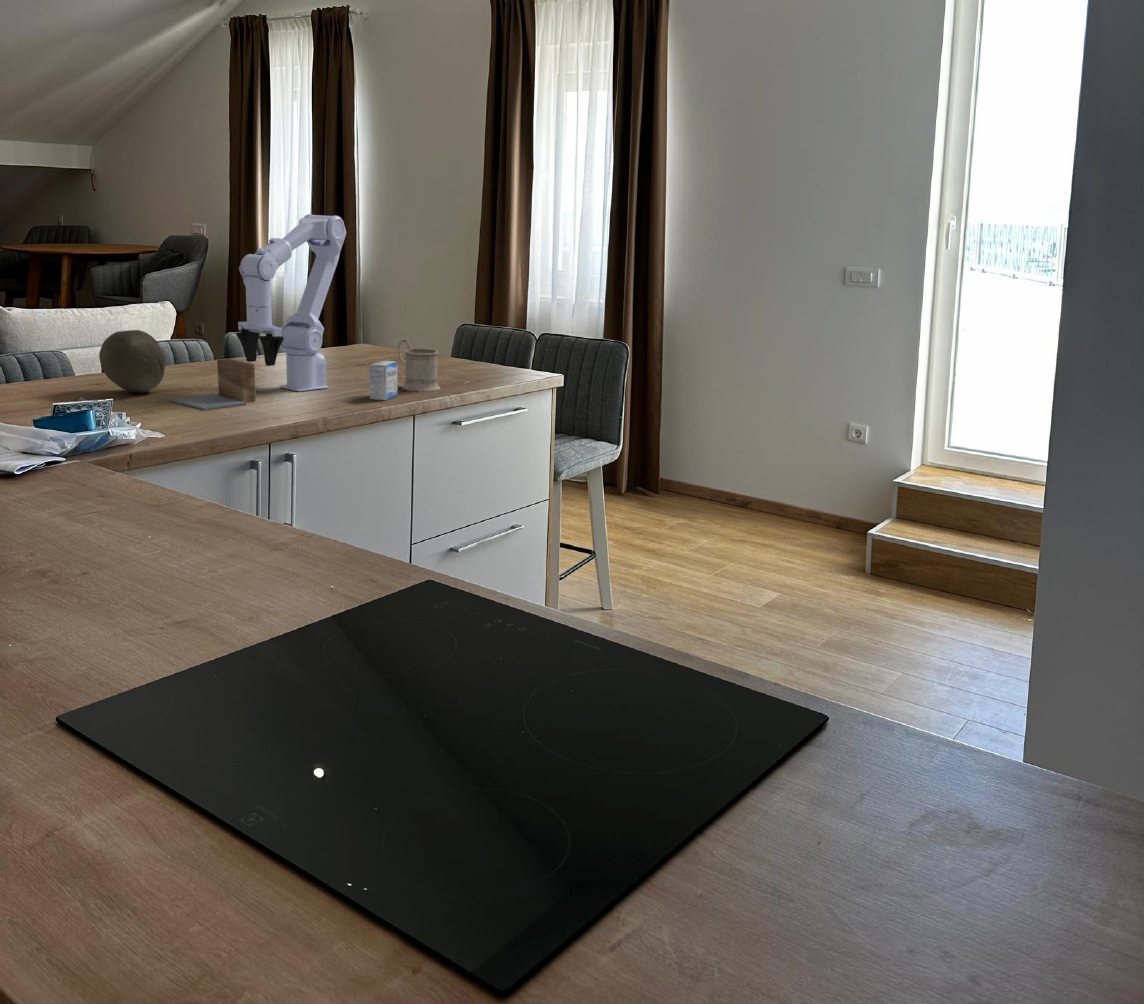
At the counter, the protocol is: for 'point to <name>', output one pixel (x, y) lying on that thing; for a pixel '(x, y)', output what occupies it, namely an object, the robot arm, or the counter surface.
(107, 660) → the counter surface
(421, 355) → the mug
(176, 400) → the mat
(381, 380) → the medicine box
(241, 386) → the brown wooden block
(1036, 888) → the counter surface
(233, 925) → the counter surface
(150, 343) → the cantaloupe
